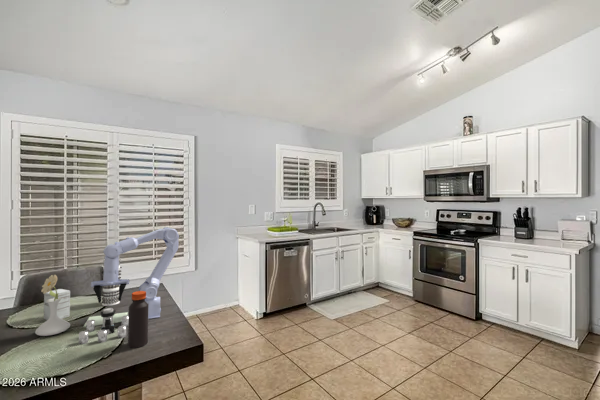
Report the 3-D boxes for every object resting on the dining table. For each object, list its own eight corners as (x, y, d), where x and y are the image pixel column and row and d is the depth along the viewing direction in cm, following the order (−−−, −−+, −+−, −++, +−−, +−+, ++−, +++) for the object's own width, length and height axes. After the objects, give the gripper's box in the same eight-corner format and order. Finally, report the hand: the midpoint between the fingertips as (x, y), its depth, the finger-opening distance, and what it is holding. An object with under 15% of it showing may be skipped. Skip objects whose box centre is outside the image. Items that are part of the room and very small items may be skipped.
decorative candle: (104, 301, 164) (105, 256, 164) (122, 299, 167) (123, 255, 167) (98, 306, 155) (99, 259, 156) (118, 305, 158) (119, 258, 158)
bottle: (143, 338, 119) (144, 289, 120) (150, 343, 115) (151, 292, 116) (125, 344, 114) (126, 292, 115) (132, 350, 110) (133, 296, 110)
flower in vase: (35, 331, 125) (37, 272, 125) (69, 324, 132) (71, 269, 132) (34, 342, 115) (35, 278, 115) (71, 334, 122) (72, 274, 123)
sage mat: (128, 312, 147) (128, 312, 147) (125, 321, 136) (125, 320, 136) (89, 317, 140) (89, 316, 140) (83, 327, 129) (83, 326, 129)
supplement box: (42, 319, 138) (43, 292, 138) (60, 314, 145) (61, 288, 145) (52, 322, 135) (53, 294, 135) (70, 316, 142) (70, 290, 142)
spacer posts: (129, 322, 135) (130, 313, 135) (125, 338, 119) (125, 328, 119) (87, 328, 128) (87, 319, 129) (76, 346, 112) (77, 336, 112)
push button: (96, 337, 120) (96, 313, 120) (96, 333, 124) (96, 309, 124) (115, 333, 124) (116, 309, 124) (114, 329, 128) (115, 306, 128)
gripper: (89, 274, 127) (88, 305, 126) (128, 271, 133) (127, 302, 132) (93, 270, 133) (92, 300, 133) (130, 268, 139) (129, 297, 139)
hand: (109, 301), depth 133 cm, fingers open, 7 cm apart
